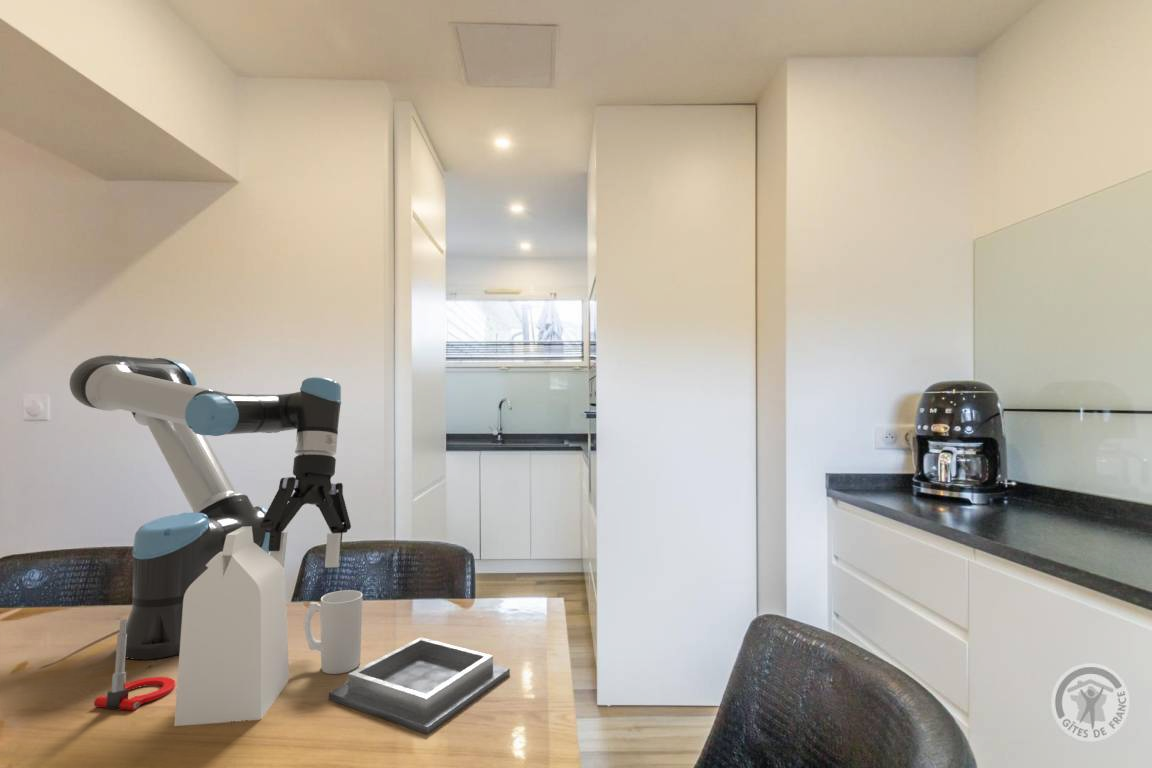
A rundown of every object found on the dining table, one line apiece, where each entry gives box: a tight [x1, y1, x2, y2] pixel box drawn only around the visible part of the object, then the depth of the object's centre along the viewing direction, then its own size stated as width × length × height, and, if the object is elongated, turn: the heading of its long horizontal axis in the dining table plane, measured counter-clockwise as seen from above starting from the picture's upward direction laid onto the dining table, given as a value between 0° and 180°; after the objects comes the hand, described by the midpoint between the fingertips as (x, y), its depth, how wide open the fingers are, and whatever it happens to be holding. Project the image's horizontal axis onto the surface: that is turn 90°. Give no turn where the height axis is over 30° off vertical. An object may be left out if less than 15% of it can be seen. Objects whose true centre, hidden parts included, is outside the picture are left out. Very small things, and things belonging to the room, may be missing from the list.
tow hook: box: [93, 618, 176, 711], centre depth 91 cm, size 8×13×9 cm
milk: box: [173, 526, 290, 727], centre depth 89 cm, size 12×12×26 cm
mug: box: [303, 589, 364, 675], centre depth 101 cm, size 10×7×12 cm, turn 87°
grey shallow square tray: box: [327, 636, 511, 735], centre depth 94 cm, size 20×20×4 cm
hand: (305, 569), depth 109 cm, fingers open, 13 cm apart
